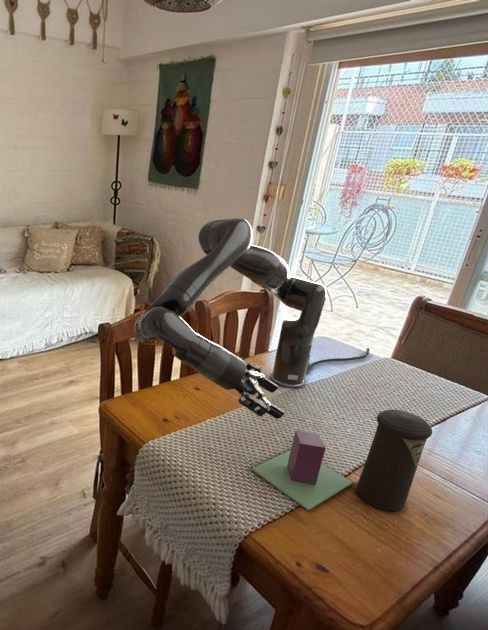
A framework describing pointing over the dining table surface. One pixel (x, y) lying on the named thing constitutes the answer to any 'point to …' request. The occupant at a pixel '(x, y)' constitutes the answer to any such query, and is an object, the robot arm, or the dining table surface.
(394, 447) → the container
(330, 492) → the mat
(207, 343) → the robot arm
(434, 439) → the dining table surface
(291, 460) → the block
